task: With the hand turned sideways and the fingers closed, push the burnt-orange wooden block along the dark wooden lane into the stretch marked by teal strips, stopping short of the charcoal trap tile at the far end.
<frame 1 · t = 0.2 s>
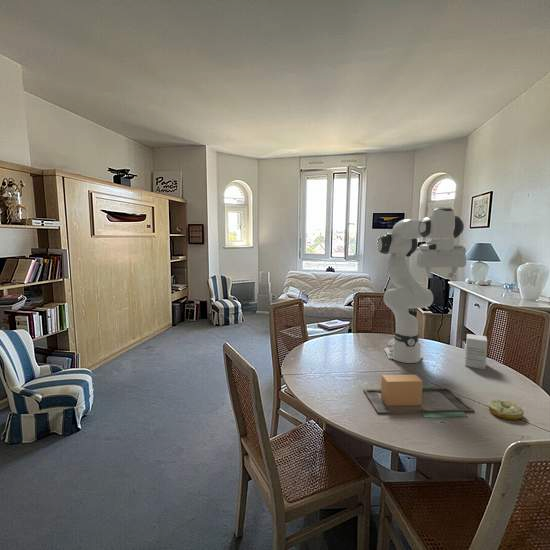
hand: (440, 277, 138), 49 cm above the table, tool pointing down, fingers open, 8 cm apart
orange block: (400, 401, 129), resting in trap lane
decorated donut: (504, 414, 120), on the table
trap lane: (415, 401, 130), on the table
supplement box: (474, 365, 165), on the table
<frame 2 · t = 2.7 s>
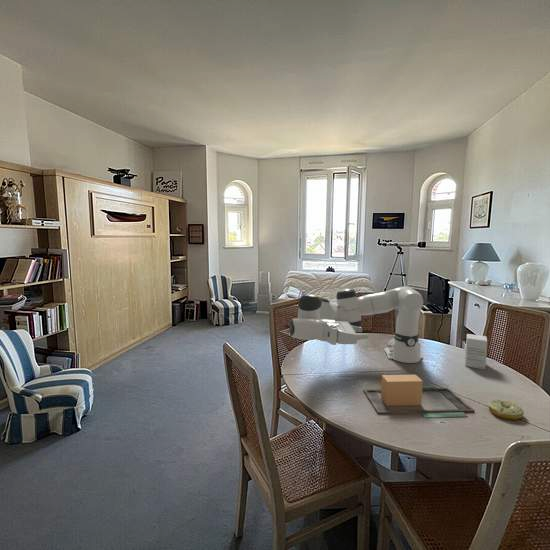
hand: (364, 332, 128), 28 cm above the table, tool horizontal, fingers open, 8 cm apart
nothing on the table moved.
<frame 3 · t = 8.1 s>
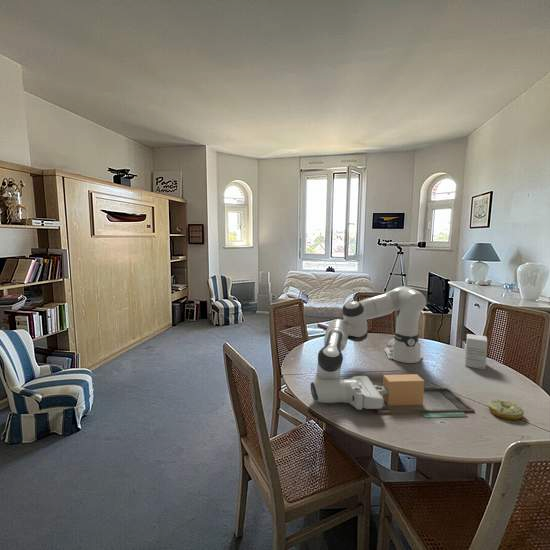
hand: (386, 390, 128), 5 cm above the table, tool horizontal, fingers closed, pressing on orange block
orange block: (402, 401, 130), resting in trap lane, touching gripper
everything else where it was.
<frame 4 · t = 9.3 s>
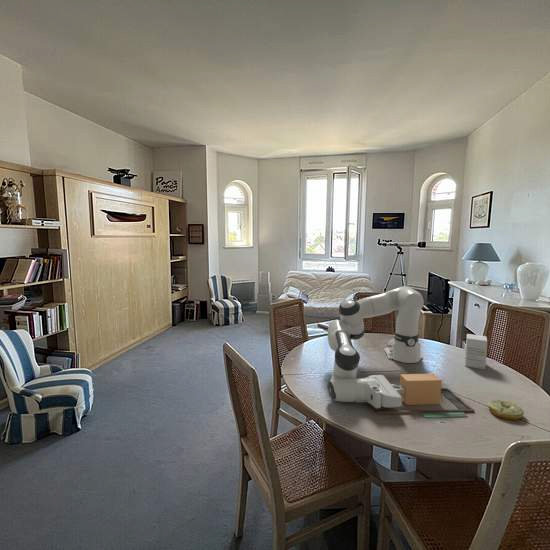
hand: (403, 389, 128), 5 cm above the table, tool horizontal, fingers closed, pressing on orange block
orange block: (419, 400, 130), resting in trap lane, touching gripper
everything else where it was.
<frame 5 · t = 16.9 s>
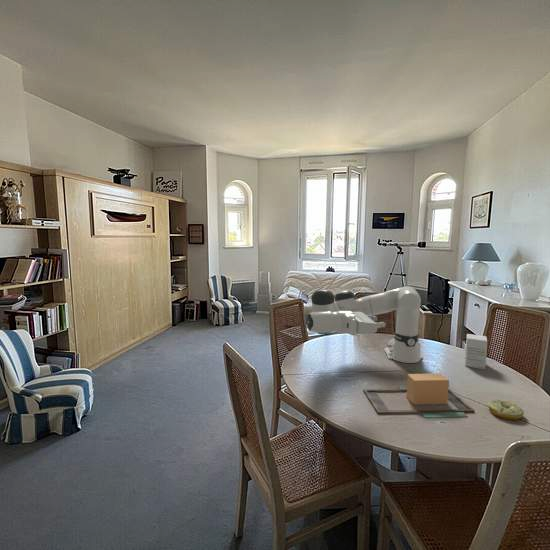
hand: (380, 321, 130), 32 cm above the table, tool horizontal, fingers open, 8 cm apart
orange block: (426, 400, 130), resting in trap lane
everything else where it was.
at the end: orange block inside the target area (1.3 cm from its centre), resting in trap lane; orange block tilted 0° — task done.
